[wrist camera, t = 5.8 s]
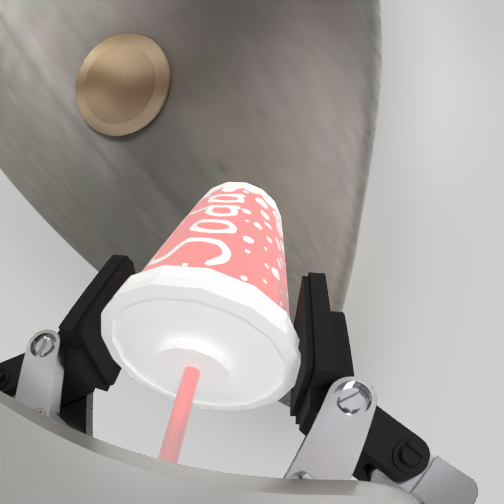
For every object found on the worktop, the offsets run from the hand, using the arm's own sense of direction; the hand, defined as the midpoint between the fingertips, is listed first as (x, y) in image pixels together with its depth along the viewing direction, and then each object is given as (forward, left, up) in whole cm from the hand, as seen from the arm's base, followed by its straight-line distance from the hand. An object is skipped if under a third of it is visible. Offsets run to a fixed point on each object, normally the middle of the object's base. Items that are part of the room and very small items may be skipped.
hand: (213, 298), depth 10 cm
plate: (-9, -14, -19) cm, 25 cm away
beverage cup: (0, 0, -6) cm, 6 cm away
